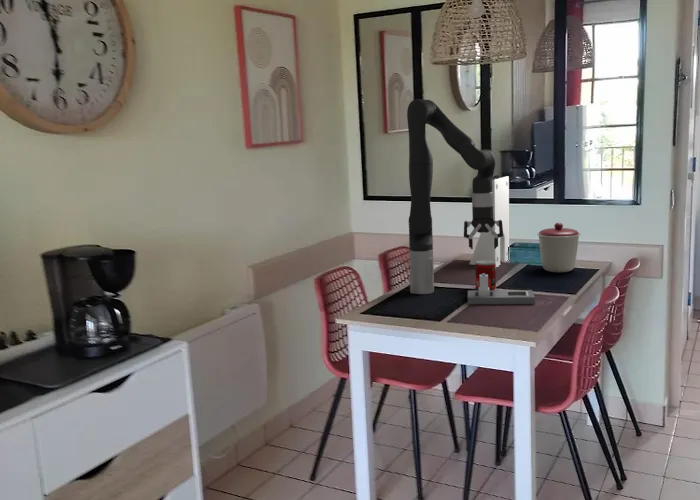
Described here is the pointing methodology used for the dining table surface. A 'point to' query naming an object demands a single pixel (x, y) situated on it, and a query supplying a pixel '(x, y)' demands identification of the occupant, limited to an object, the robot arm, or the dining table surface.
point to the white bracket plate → (500, 212)
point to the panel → (502, 297)
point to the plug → (484, 285)
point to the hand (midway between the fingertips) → (483, 248)
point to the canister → (558, 248)
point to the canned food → (486, 272)
